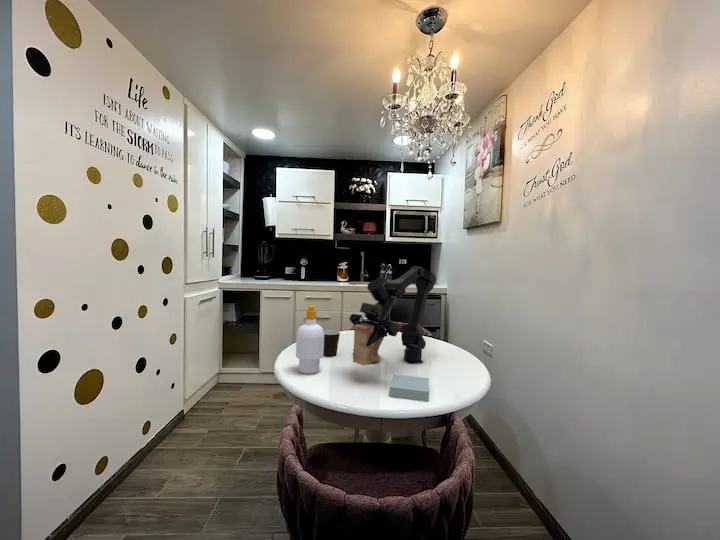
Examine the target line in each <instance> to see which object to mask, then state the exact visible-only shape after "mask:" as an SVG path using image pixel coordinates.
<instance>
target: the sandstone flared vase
mask: <svg viewBox="0 0 720 540" xmlns="http://www.w3.org/2000/svg"><path fill="white" fill-rule="evenodd" d="M384 339H385V337H383V338H381V339H380V340H378V341H376V342H375V343H374V356H373V363H374V362H379V361H381V360H380V359H381V357H380V354H379V349H380V346H381V345H382V343H383V341H384ZM352 350H353V351H354V348H353V349H352Z"/></svg>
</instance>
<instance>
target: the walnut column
mask: <svg viewBox="0 0 720 540" xmlns="http://www.w3.org/2000/svg"><path fill="white" fill-rule="evenodd" d="M373 331H374V325H370V324H366V323H363V324H357V325H355V326H354V331H353V332H354V334H353V349H354V351H353V352H352V362H353V363H355V364H358V365H360V366H363V367H364V366H367V365H370V364H373V363H374V362H373V356H374V343H373V344H372V345H370V346H367V342H368V340H369V338H370V337H371V335H372V333H373Z"/></svg>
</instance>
